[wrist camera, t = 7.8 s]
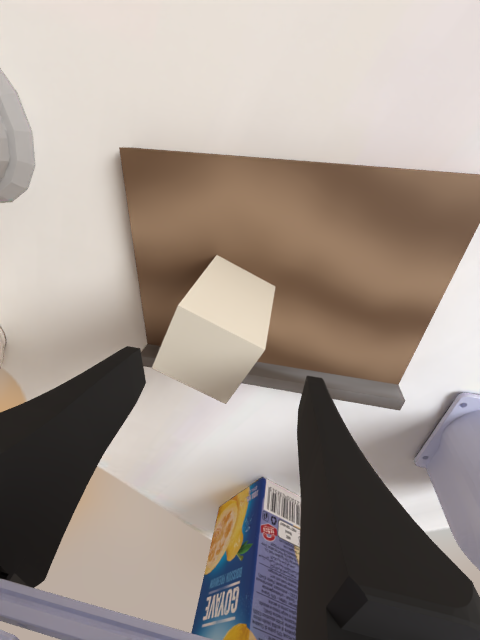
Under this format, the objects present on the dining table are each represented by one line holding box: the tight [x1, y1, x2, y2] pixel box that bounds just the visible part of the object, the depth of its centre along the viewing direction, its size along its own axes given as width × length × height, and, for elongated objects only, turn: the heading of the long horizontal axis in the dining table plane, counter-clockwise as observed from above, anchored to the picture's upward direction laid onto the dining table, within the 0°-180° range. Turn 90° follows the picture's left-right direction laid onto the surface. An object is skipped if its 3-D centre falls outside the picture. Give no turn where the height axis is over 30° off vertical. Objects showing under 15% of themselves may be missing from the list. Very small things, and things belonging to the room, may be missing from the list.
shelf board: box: [119, 148, 480, 410], centre depth 19 cm, size 15×20×3 cm
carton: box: [152, 255, 275, 404], centre depth 17 cm, size 5×4×7 cm
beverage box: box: [192, 477, 301, 640], centre depth 27 cm, size 7×11×22 cm, turn 149°
